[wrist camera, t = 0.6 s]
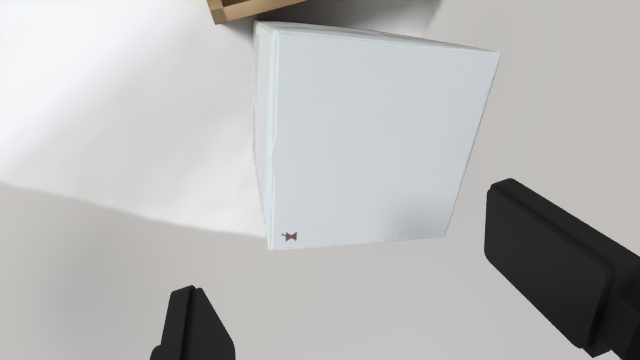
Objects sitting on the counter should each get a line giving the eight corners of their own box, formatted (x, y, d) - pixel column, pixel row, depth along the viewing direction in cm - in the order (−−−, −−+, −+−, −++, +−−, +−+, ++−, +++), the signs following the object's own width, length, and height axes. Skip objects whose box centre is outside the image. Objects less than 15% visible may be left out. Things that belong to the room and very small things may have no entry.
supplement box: (364, 152, 39) (447, 241, 24) (251, 152, 36) (265, 256, 21) (383, 30, 34) (509, 47, 18) (251, 17, 30) (271, 26, 15)
